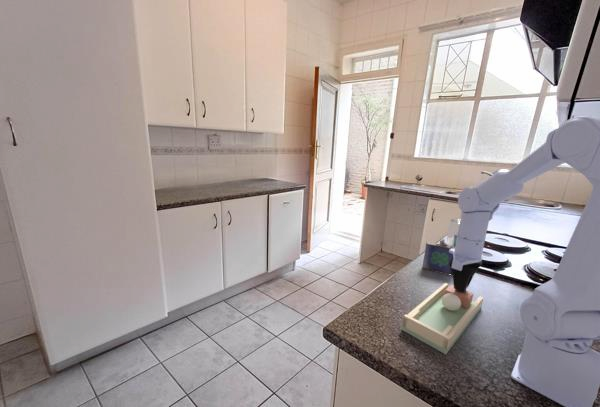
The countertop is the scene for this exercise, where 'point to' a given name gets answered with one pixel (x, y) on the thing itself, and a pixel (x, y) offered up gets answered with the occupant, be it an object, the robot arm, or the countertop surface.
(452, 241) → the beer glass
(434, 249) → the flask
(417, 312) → the pitch
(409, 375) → the countertop surface
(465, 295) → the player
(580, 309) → the robot arm
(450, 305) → the ball
